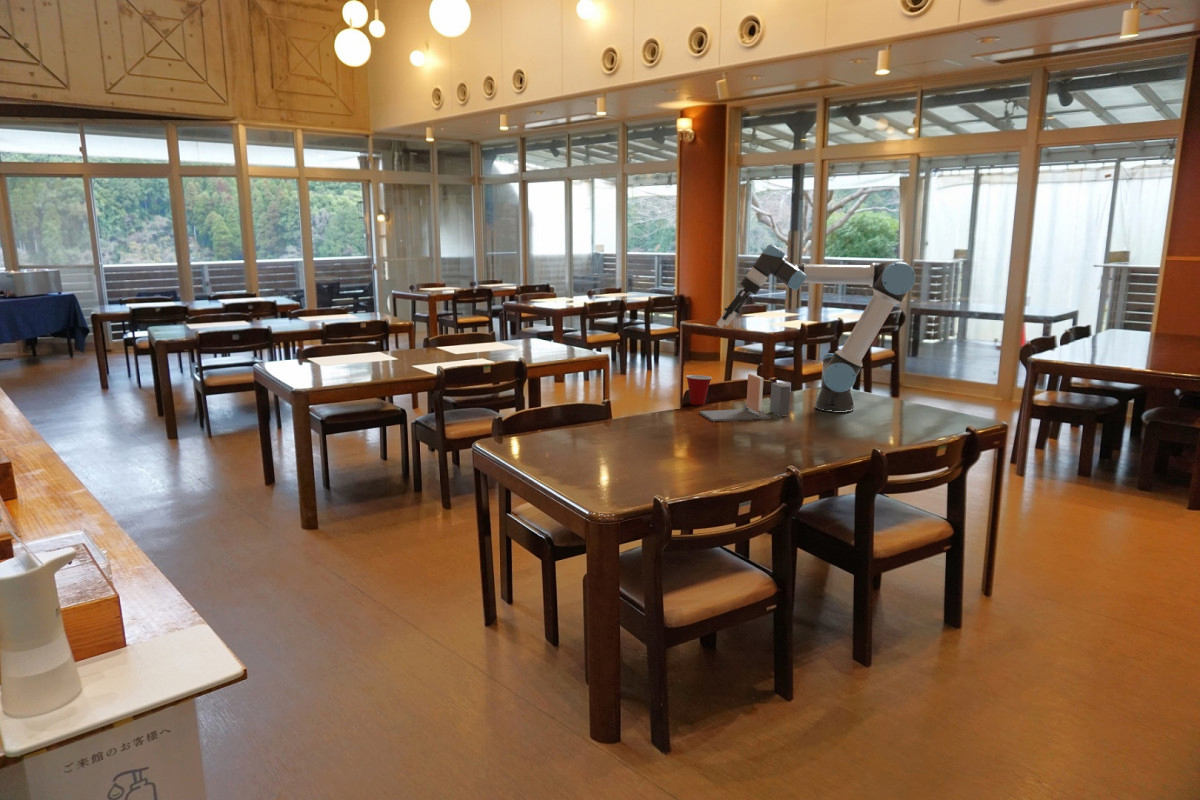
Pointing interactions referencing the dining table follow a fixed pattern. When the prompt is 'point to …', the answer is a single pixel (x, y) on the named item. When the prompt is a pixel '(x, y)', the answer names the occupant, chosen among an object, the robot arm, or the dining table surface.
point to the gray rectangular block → (779, 399)
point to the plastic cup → (698, 388)
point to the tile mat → (734, 414)
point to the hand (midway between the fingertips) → (721, 325)
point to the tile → (754, 392)
